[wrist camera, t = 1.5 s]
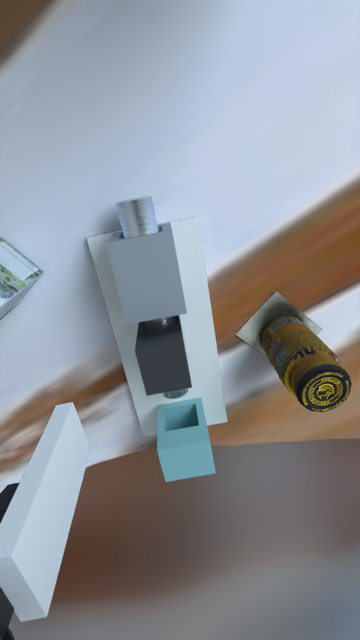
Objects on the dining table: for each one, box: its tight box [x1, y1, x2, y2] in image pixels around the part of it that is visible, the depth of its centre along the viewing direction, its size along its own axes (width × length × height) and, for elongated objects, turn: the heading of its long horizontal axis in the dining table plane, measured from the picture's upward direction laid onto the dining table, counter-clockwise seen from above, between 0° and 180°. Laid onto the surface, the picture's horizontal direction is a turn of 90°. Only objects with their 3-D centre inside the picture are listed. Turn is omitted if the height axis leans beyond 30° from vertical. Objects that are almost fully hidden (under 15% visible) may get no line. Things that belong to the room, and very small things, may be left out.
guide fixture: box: [87, 216, 227, 482], centre depth 37 cm, size 28×12×9 cm, turn 10°
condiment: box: [236, 291, 352, 412], centre depth 36 cm, size 7×8×12 cm
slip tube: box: [116, 196, 192, 399], centre depth 32 cm, size 22×4×9 cm, turn 10°
